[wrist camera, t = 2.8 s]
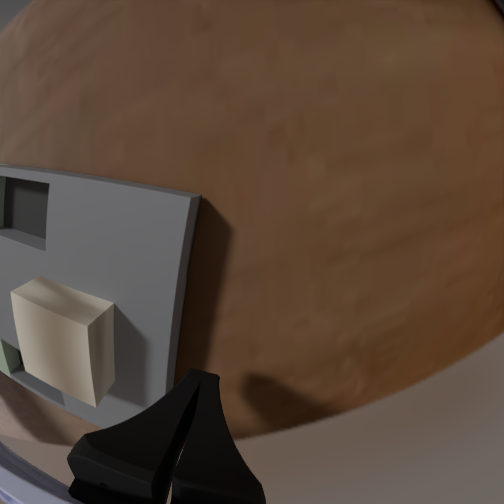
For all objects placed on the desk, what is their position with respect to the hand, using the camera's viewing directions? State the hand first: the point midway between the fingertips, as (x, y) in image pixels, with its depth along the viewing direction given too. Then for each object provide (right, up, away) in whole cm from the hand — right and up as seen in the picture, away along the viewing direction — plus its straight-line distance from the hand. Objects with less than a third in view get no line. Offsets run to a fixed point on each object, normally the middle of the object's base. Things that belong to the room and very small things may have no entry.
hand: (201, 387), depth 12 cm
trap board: (-11, +3, +3) cm, 12 cm away
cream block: (-7, +2, +1) cm, 8 cm away
